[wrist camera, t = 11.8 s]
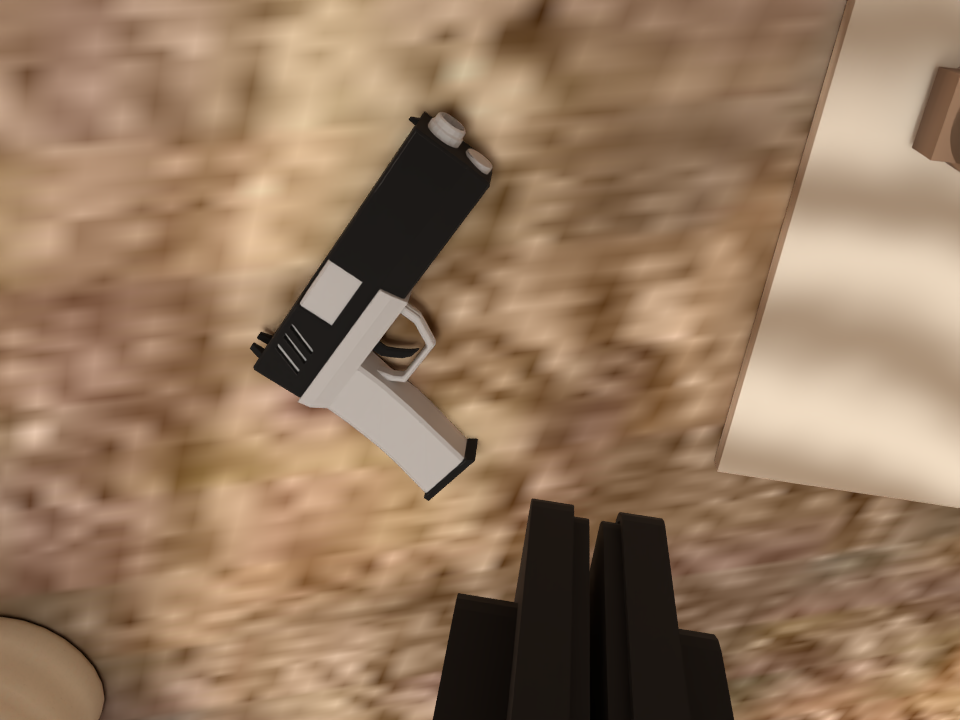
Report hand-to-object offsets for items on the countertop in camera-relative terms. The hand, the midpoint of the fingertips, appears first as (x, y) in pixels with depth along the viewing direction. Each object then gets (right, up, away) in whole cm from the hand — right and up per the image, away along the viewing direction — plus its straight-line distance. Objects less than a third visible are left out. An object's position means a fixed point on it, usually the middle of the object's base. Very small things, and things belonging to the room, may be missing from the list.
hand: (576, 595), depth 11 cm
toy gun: (-3, +6, +29) cm, 30 cm away
